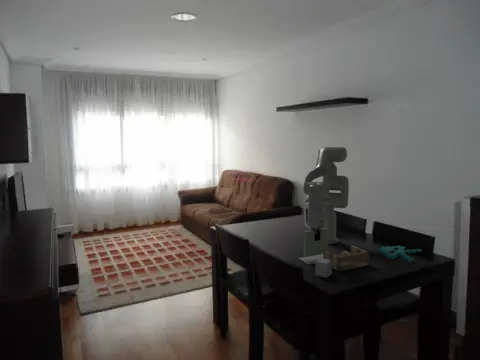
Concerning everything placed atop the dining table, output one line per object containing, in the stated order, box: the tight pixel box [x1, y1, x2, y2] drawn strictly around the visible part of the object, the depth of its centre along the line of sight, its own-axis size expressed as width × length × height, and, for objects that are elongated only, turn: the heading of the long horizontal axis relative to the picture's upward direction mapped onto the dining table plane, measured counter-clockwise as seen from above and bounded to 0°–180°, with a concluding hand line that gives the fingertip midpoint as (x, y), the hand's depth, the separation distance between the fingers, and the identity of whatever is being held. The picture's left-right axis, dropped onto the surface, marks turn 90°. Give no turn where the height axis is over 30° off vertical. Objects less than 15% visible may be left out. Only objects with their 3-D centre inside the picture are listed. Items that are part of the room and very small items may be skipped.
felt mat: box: [298, 254, 323, 265], centre depth 204 cm, size 10×16×1 cm, turn 112°
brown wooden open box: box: [323, 245, 370, 272], centre depth 196 cm, size 13×19×7 cm
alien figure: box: [377, 245, 423, 264], centre depth 209 cm, size 20×2×20 cm
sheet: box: [302, 228, 329, 257], centre depth 203 cm, size 2×14×14 cm, turn 112°
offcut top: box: [341, 250, 351, 256], centre depth 196 cm, size 2×6×2 cm, turn 6°
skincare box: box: [314, 258, 333, 279], centre depth 182 cm, size 6×6×7 cm
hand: (315, 239), depth 203 cm, fingers closed on sheet, 2 cm apart
